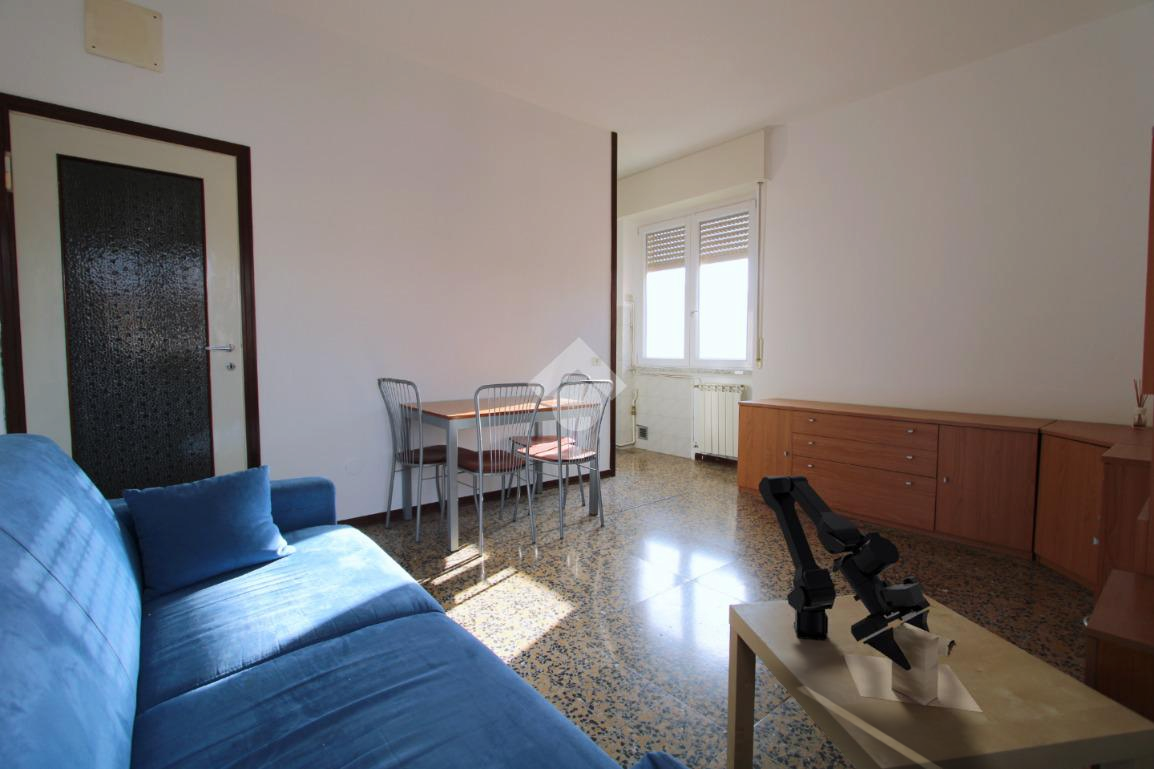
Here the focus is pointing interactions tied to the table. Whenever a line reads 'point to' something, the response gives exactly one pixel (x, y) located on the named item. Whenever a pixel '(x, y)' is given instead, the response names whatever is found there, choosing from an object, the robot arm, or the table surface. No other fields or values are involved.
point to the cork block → (916, 664)
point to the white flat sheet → (877, 683)
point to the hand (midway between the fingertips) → (922, 662)
